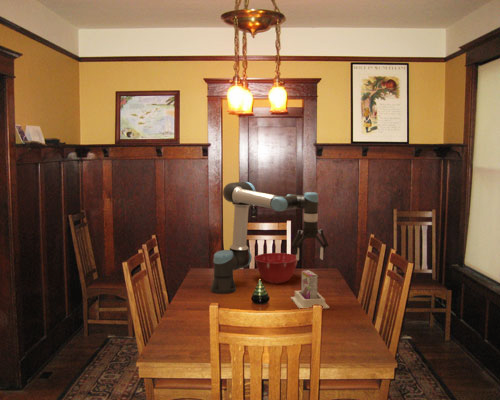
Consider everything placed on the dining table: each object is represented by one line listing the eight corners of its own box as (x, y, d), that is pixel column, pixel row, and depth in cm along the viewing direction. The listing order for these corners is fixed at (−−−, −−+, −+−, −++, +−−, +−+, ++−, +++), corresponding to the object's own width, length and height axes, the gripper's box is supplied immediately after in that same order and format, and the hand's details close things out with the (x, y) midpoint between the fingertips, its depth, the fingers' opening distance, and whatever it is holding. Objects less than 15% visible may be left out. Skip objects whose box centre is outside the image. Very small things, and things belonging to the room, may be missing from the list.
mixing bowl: (248, 284, 292) (248, 260, 290) (261, 273, 319) (261, 251, 317) (292, 288, 283) (292, 264, 281) (302, 276, 310) (302, 254, 308)
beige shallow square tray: (300, 309, 246) (300, 301, 246) (290, 297, 266) (290, 290, 265) (329, 308, 249) (329, 299, 248) (317, 296, 269) (317, 288, 268)
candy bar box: (300, 299, 262) (301, 270, 260) (308, 298, 263) (309, 269, 262) (309, 305, 251) (309, 275, 249) (317, 304, 253) (318, 275, 251)
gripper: (290, 222, 247) (289, 261, 249) (335, 221, 251) (333, 260, 253) (286, 220, 254) (285, 258, 256) (330, 219, 258) (329, 257, 261)
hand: (309, 259), depth 255 cm, fingers open, 13 cm apart
